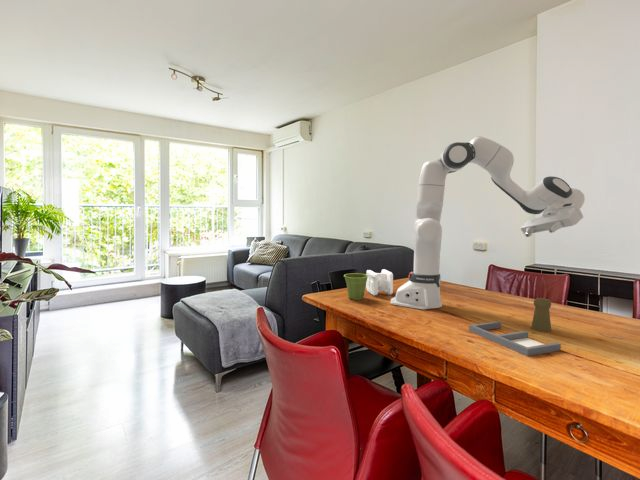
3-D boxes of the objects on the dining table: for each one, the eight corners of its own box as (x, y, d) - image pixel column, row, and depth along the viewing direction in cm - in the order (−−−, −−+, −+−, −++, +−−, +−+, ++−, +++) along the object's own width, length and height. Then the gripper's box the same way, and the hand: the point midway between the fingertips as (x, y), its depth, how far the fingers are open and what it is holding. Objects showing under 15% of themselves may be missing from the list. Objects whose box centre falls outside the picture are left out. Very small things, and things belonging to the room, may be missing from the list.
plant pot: (339, 297, 167) (339, 274, 166) (360, 294, 172) (360, 272, 171) (351, 302, 156) (351, 278, 156) (373, 299, 161) (373, 276, 161)
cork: (527, 326, 123) (528, 296, 122) (542, 326, 124) (544, 296, 123) (539, 332, 117) (540, 300, 116) (555, 331, 118) (557, 300, 117)
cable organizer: (393, 296, 168) (394, 273, 167) (373, 297, 167) (373, 273, 166) (384, 290, 183) (384, 268, 182) (364, 290, 181) (365, 269, 180)
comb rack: (498, 326, 123) (498, 321, 123) (560, 350, 101) (560, 343, 101) (468, 330, 118) (469, 325, 118) (527, 356, 97) (527, 349, 97)
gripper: (527, 214, 142) (509, 231, 137) (580, 201, 123) (561, 220, 118) (535, 227, 143) (517, 244, 137) (588, 216, 124) (570, 235, 118)
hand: (538, 233), depth 127 cm, fingers open, 8 cm apart
